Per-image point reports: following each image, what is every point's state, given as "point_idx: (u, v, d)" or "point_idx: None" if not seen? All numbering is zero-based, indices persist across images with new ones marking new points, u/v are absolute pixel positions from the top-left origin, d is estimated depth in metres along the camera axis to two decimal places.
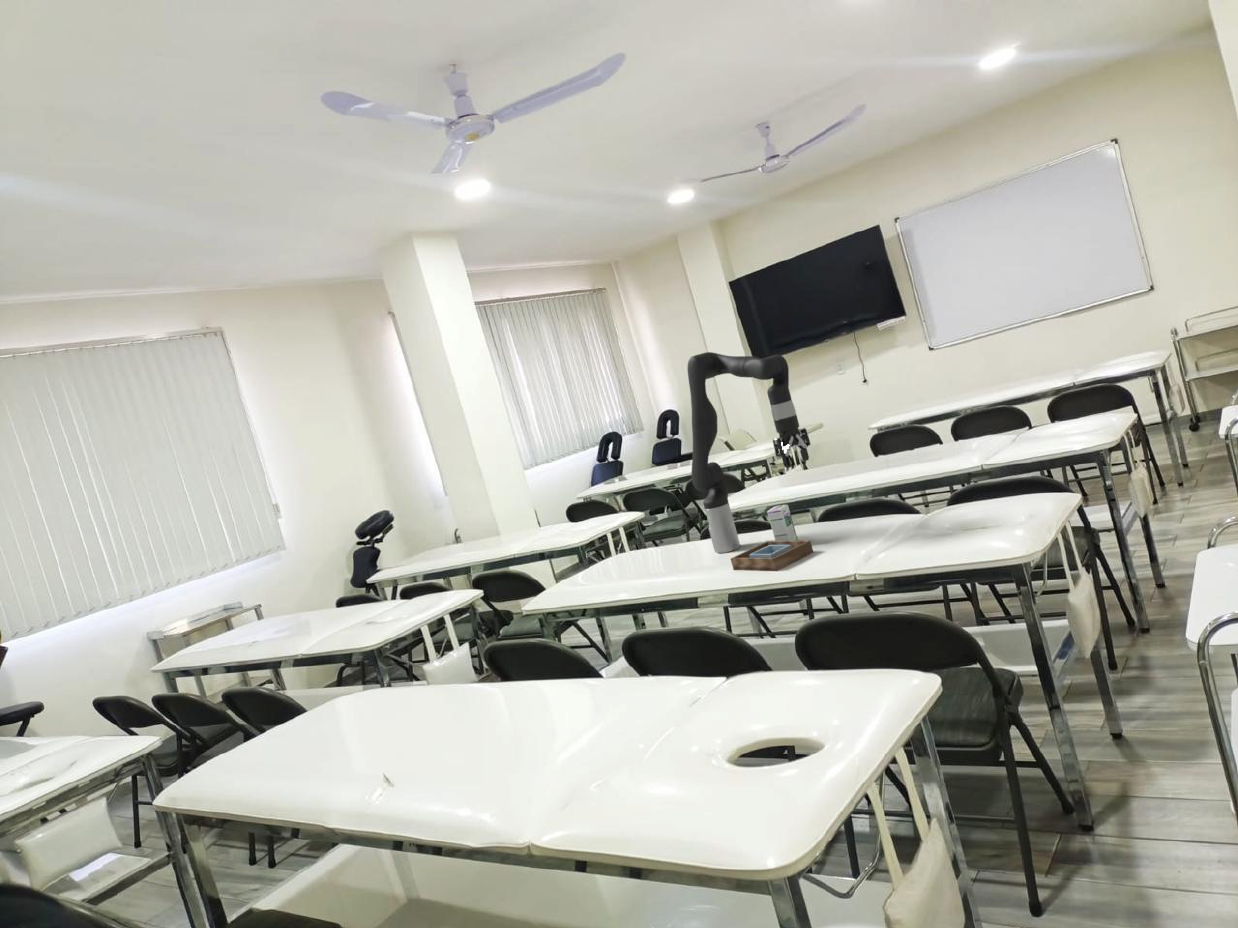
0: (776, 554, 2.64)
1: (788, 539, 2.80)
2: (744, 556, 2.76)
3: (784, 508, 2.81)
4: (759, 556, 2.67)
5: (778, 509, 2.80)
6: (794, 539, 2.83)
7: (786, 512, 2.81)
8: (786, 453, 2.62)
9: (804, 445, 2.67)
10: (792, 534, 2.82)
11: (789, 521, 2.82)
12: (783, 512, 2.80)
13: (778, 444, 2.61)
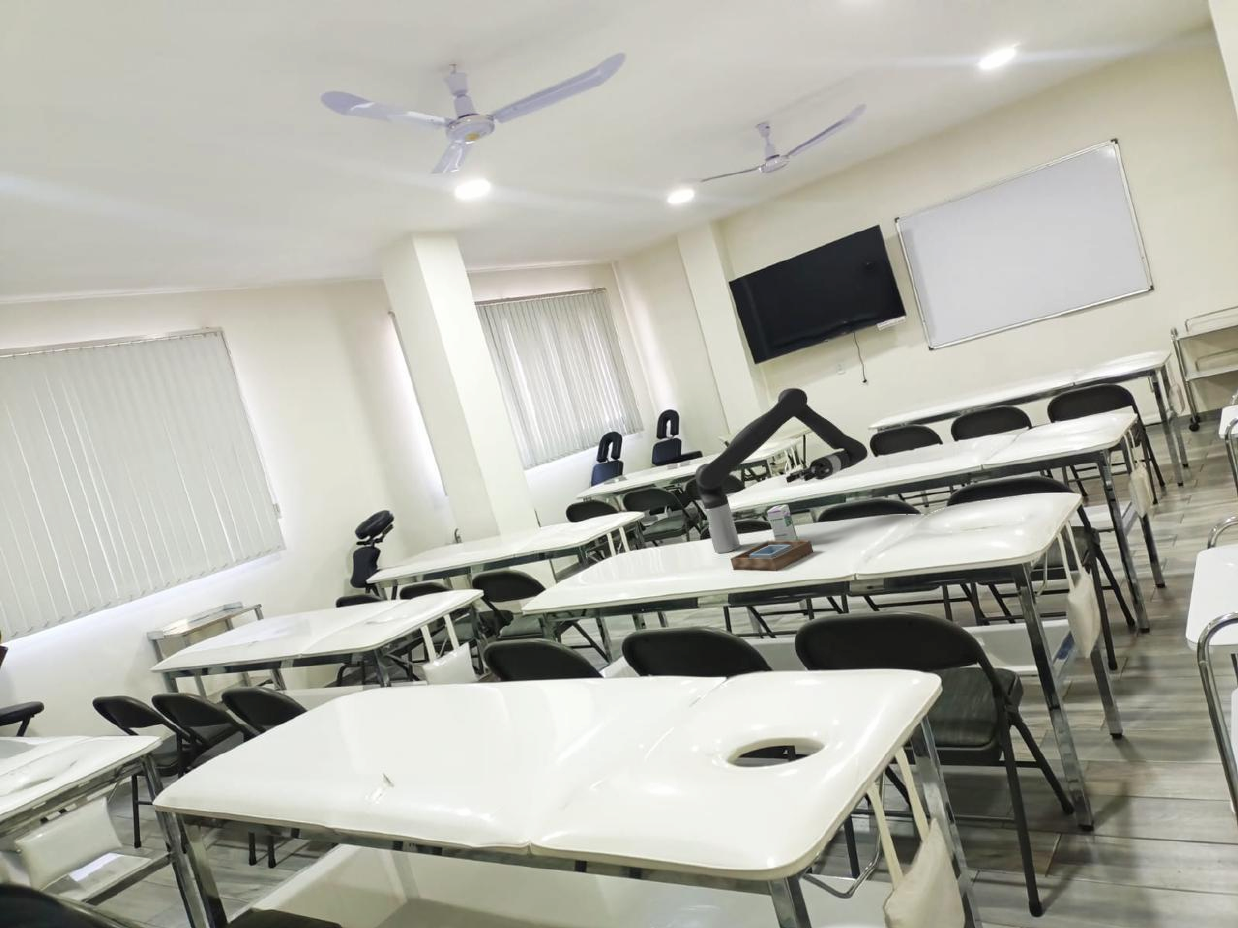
0: (776, 554, 2.64)
1: (788, 539, 2.80)
2: (744, 556, 2.76)
3: (784, 508, 2.81)
4: (759, 556, 2.67)
5: (778, 509, 2.80)
6: (794, 539, 2.83)
7: (786, 512, 2.81)
8: None
9: (797, 479, 2.96)
10: (792, 534, 2.82)
11: (789, 521, 2.82)
12: (783, 512, 2.80)
13: (826, 473, 2.88)
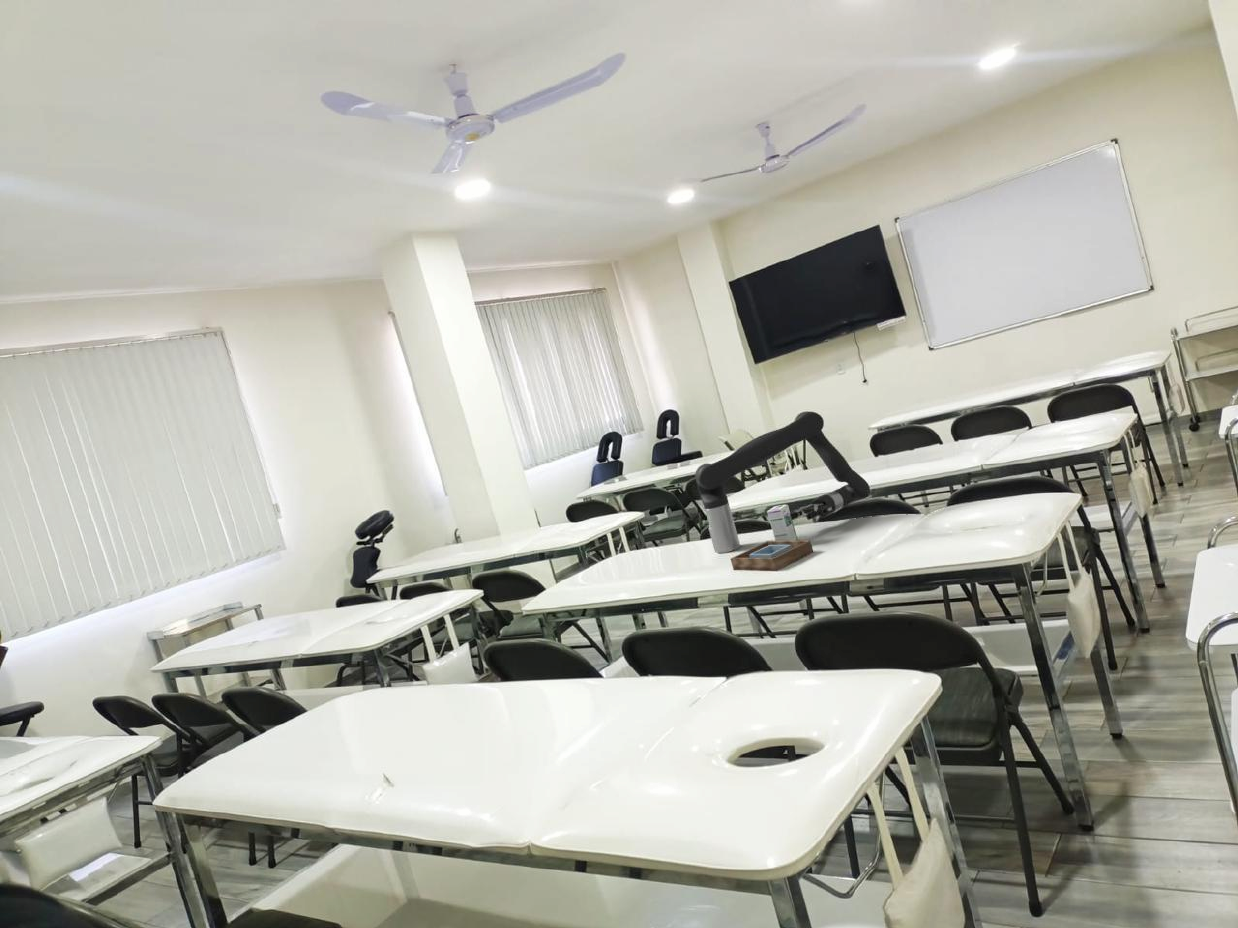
0: (776, 554, 2.64)
1: (788, 539, 2.80)
2: (744, 556, 2.76)
3: (784, 508, 2.81)
4: (759, 556, 2.67)
5: (778, 509, 2.80)
6: (794, 539, 2.83)
7: (786, 512, 2.81)
8: None
9: None
10: (792, 534, 2.82)
11: (789, 521, 2.82)
12: (783, 512, 2.80)
13: (829, 512, 2.87)
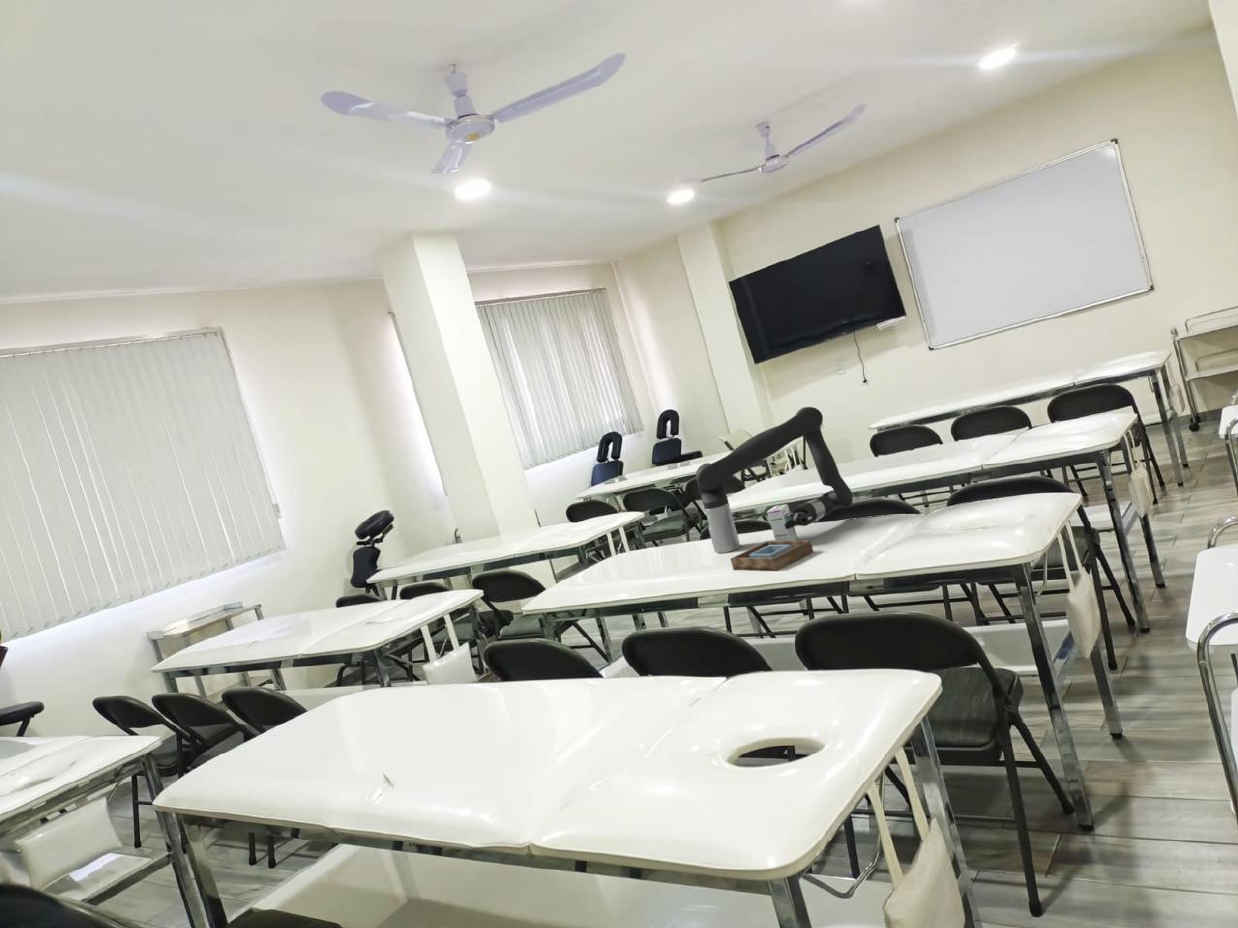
0: (776, 554, 2.64)
1: (788, 539, 2.80)
2: (744, 556, 2.76)
3: (784, 508, 2.81)
4: (759, 556, 2.67)
5: (778, 509, 2.80)
6: (794, 539, 2.83)
7: (786, 512, 2.81)
8: None
9: None
10: (792, 534, 2.82)
11: None
12: (782, 512, 2.80)
13: (808, 521, 2.82)
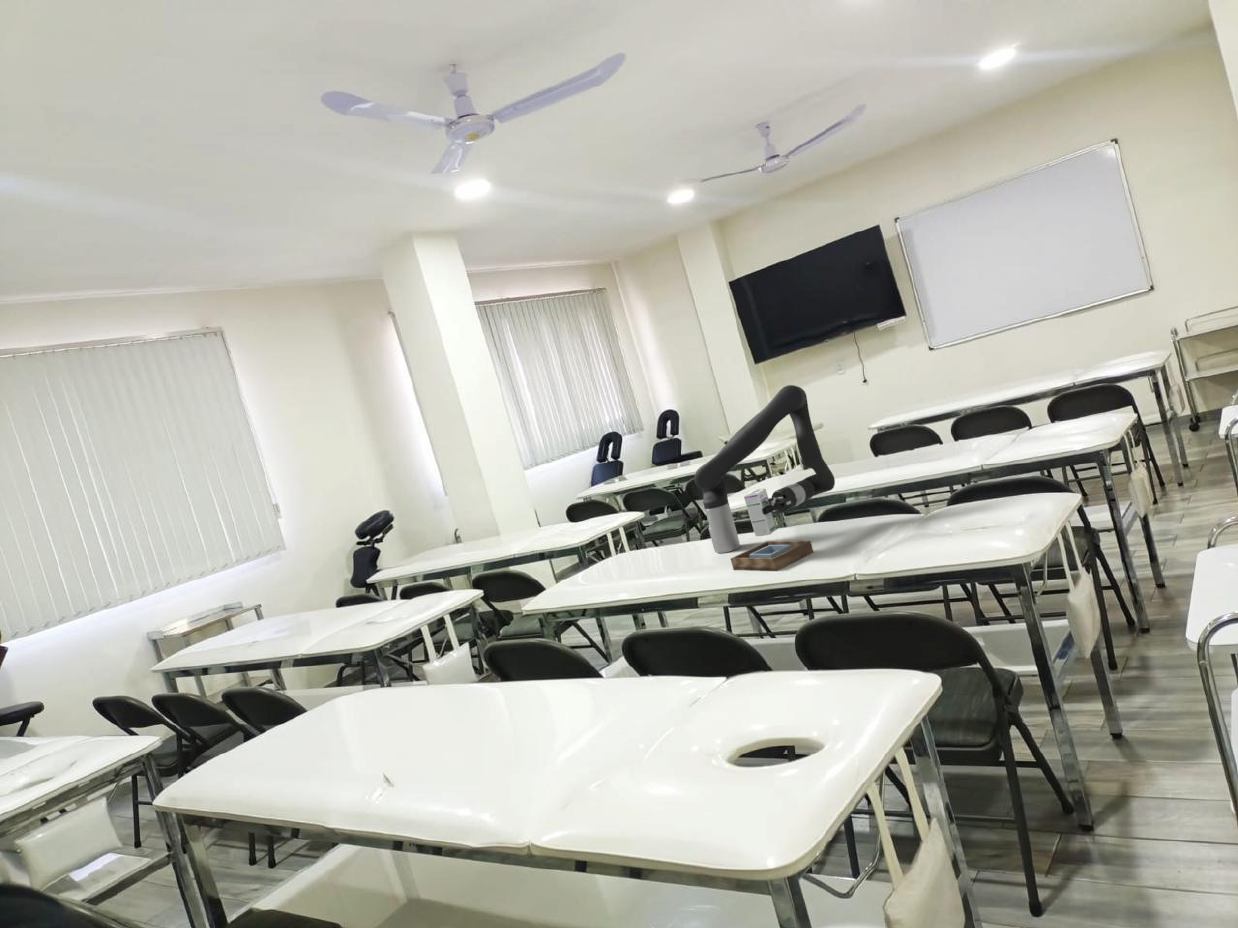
0: (776, 554, 2.64)
1: (766, 525, 2.66)
2: (744, 556, 2.76)
3: (761, 492, 2.66)
4: (759, 556, 2.67)
5: (755, 493, 2.65)
6: (773, 525, 2.68)
7: (763, 497, 2.67)
8: None
9: None
10: (770, 520, 2.67)
11: None
12: (760, 497, 2.65)
13: (787, 506, 2.67)
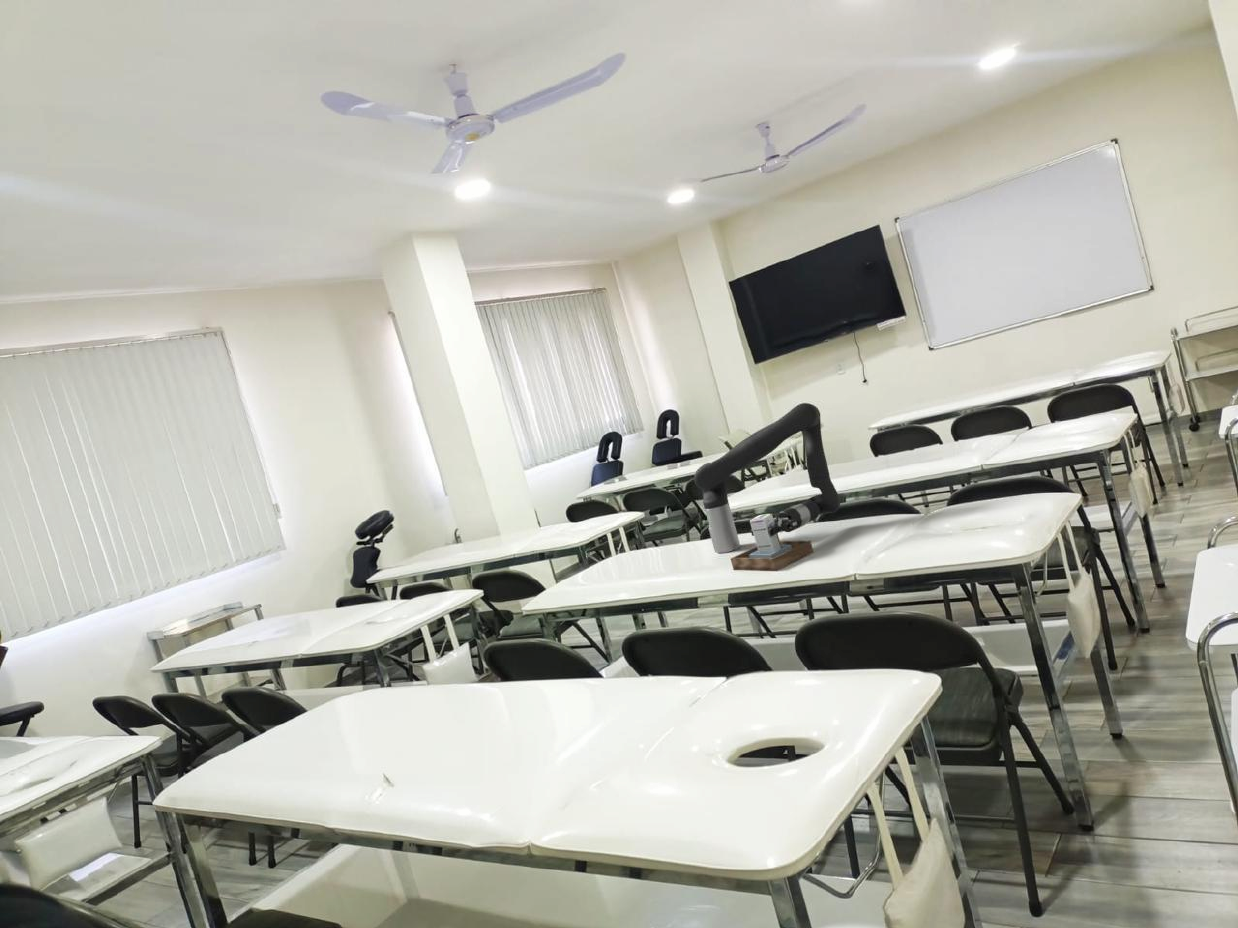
0: (776, 554, 2.64)
1: (772, 550, 2.67)
2: (744, 556, 2.76)
3: (768, 518, 2.67)
4: (759, 556, 2.67)
5: (761, 519, 2.66)
6: None
7: (769, 522, 2.68)
8: None
9: None
10: (776, 545, 2.68)
11: None
12: (766, 522, 2.66)
13: (793, 527, 2.67)
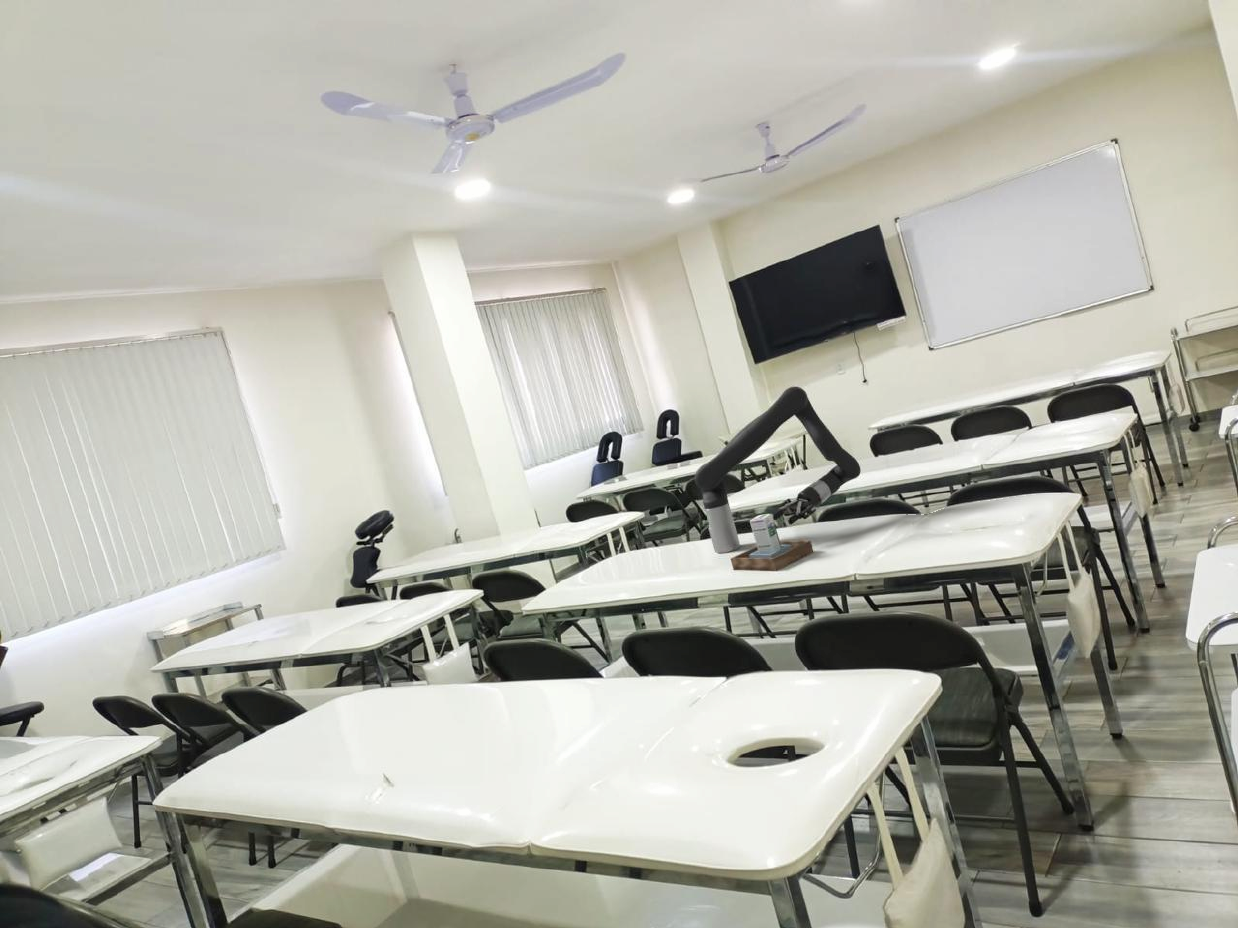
0: (776, 554, 2.64)
1: (772, 550, 2.67)
2: (744, 556, 2.76)
3: (768, 518, 2.67)
4: (759, 556, 2.67)
5: (761, 519, 2.66)
6: None
7: (769, 522, 2.68)
8: None
9: None
10: (776, 545, 2.68)
11: (773, 531, 2.68)
12: (766, 522, 2.66)
13: (812, 512, 2.75)
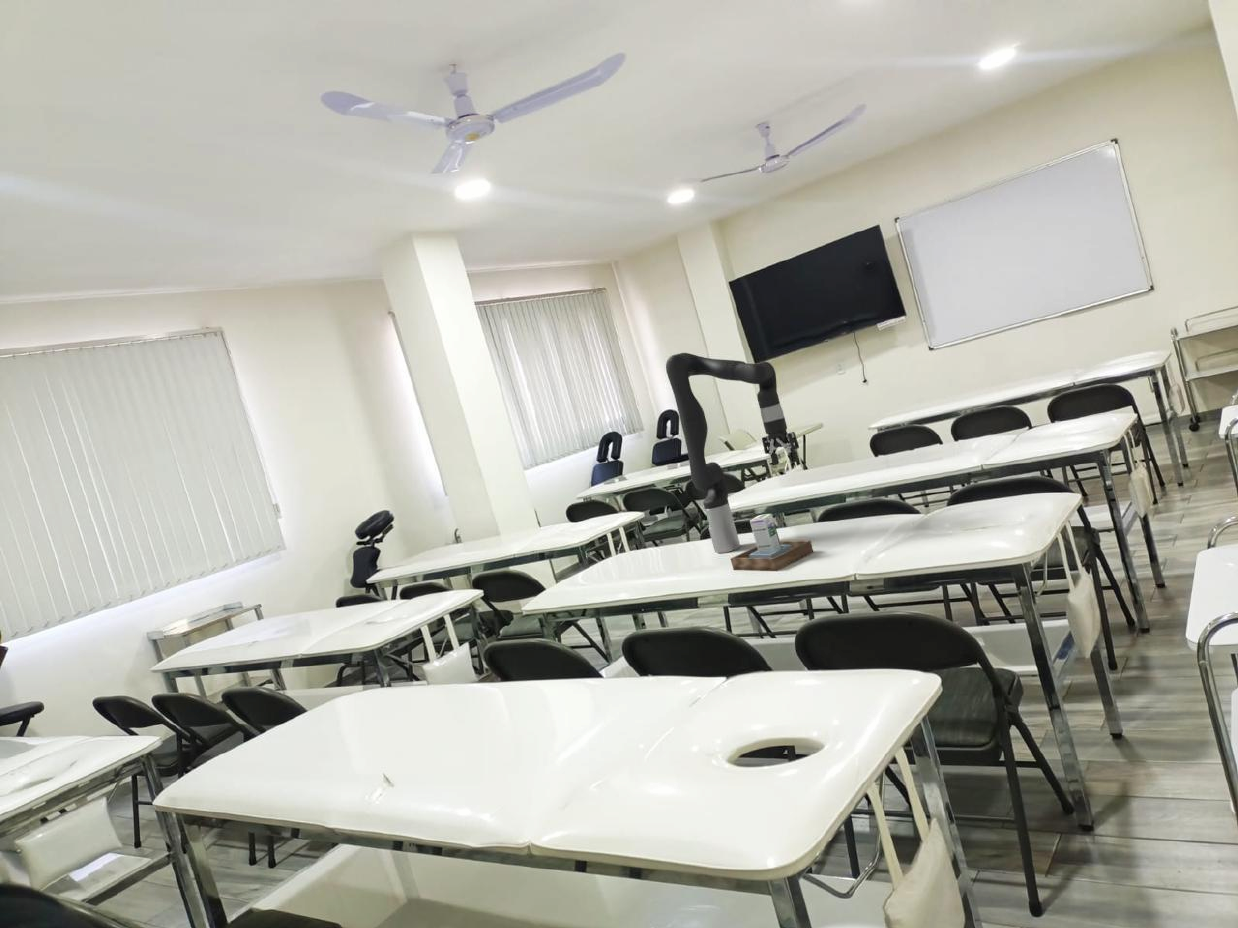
0: (776, 554, 2.64)
1: (772, 550, 2.67)
2: (744, 556, 2.76)
3: (768, 518, 2.67)
4: (759, 556, 2.67)
5: (761, 519, 2.66)
6: None
7: (769, 522, 2.68)
8: None
9: None
10: (776, 545, 2.68)
11: (773, 531, 2.68)
12: (766, 522, 2.66)
13: (795, 437, 2.78)
